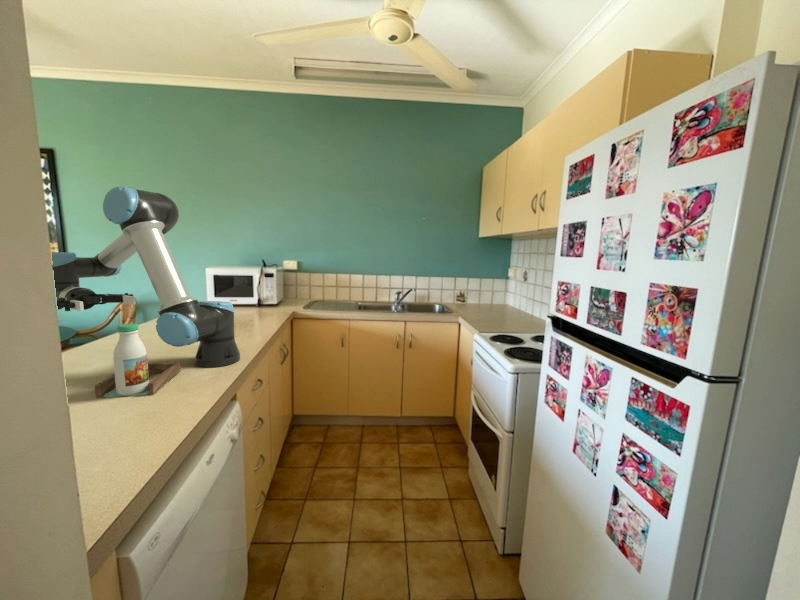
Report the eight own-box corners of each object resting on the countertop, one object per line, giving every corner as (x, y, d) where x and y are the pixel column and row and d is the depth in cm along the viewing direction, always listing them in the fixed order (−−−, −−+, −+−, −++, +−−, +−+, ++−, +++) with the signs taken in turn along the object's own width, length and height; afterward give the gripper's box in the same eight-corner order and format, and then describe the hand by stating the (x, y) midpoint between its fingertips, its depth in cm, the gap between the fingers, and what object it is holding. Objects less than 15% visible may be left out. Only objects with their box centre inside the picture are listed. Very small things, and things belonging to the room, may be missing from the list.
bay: (180, 372, 115) (179, 362, 115) (153, 394, 98) (152, 383, 97) (132, 373, 112) (131, 363, 112) (95, 397, 95) (94, 385, 94)
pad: (158, 385, 104) (158, 384, 104) (147, 395, 97) (147, 394, 97) (117, 387, 102) (117, 386, 102) (103, 397, 95) (103, 396, 95)
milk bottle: (113, 397, 94) (106, 328, 91) (120, 387, 101) (114, 322, 98) (146, 393, 98) (141, 326, 95) (151, 383, 105) (147, 321, 102)
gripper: (122, 304, 127) (153, 309, 118) (28, 314, 105) (57, 321, 96) (120, 284, 126) (151, 288, 117) (25, 290, 104) (54, 295, 95)
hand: (109, 303), depth 106 cm, fingers open, 13 cm apart
